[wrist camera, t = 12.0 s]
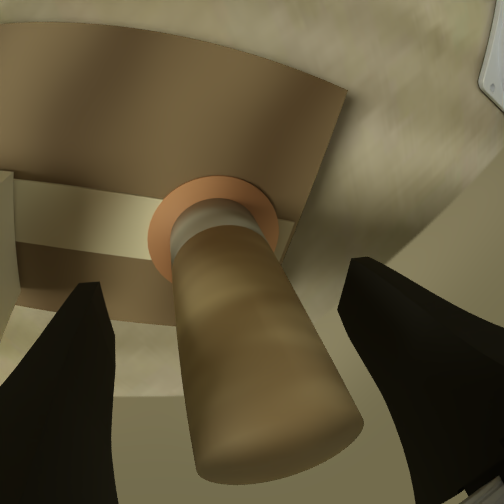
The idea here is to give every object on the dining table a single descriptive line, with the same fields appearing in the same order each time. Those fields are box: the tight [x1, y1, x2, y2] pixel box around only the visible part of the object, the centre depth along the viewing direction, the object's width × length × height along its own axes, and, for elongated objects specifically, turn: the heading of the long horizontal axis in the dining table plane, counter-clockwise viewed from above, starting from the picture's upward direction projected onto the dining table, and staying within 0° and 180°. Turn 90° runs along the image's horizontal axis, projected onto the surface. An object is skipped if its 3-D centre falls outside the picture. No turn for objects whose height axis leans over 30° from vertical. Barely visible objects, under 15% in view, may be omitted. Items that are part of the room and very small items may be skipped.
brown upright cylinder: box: [170, 198, 364, 485], centre depth 8 cm, size 3×3×8 cm
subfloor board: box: [0, 22, 348, 326], centre depth 10 cm, size 16×11×2 cm
